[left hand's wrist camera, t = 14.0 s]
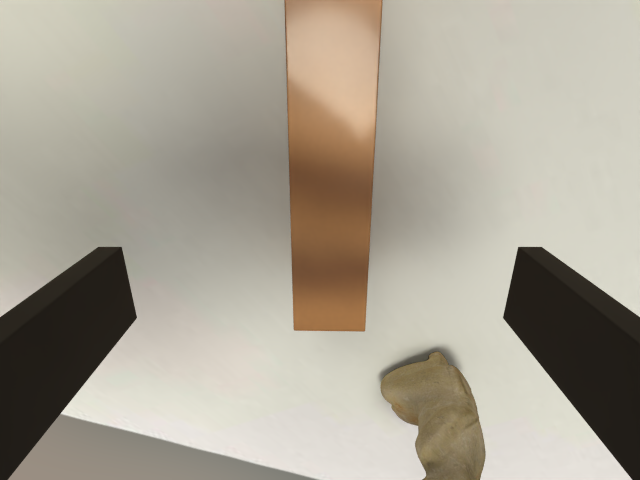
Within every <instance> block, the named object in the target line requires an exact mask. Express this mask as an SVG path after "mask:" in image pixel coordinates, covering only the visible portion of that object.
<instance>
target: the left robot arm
mask: <svg viewBox="0 0 640 480" xmlns="http://www.w3.org/2000/svg"><path fill="white" fill-rule="evenodd" d="M136 318H137V316H136V312H135V307H134V302H133V298H132V293H131V288H130V284H129V279H128V274H127V270H126V265H125V260H124V256H123V251H122V247H98V248H96V249H95V250H94V251H92V252H91V253H89V254H88V255H87V256H85V257H84V258H82V259H81V260H80V261H78V262H77V263H75V264H74V265H73V266H71V267H70V268H68V269H67V270H66V271H64V272H63V273H61V274H60V275H59V276H57V277H56V278H54V279H53V280H52V281H50V282H49V283H47V284H46V285H45V286H43V287H42V288H40V289H39V290H38V291H36V292H35V293H33V294H32V295H31V296H29V297H28V298H27V299H25V300H24V301H22V302H21V303H20V304H18V305H17V306H15V307H14V308H13V309H11V310H10V311H8V312H7V313H6V314H4V315H3V316H1V317H0V480H8V479H9V477H10V476H11V475H12V473H13V472H14V471H15V470H16V468H17V467H18V466H19V465H20V463H21V462H22V461H23V460H24V458H25V457H26V456H27V455H28V453H29V452H30V451H31V450H32V448H33V447H34V446H35V445H36V443H37V442H38V441H39V440H40V438H41V437H42V436H43V435H44V433H45V432H46V431H47V430H48V428H49V427H50V426H51V425H52V423H53V422H54V421H55V420H56V418H57V417H58V416H59V415H60V413H61V412H62V411H63V410H64V408H65V407H66V406H67V405H68V403H69V402H70V401H71V400H72V398H73V397H74V396H75V395H76V393H77V392H78V391H79V390H80V388H81V387H82V386H83V385H84V383H85V382H86V381H87V380H88V378H89V377H90V376H91V375H92V373H93V372H94V371H95V370H96V368H97V367H98V366H99V365H100V363H101V362H102V361H103V360H104V358H105V357H106V356H107V355H108V353H109V352H110V351H111V350H112V348H113V347H114V346H115V345H116V343H117V342H118V341H119V340H120V338H121V337H122V336H123V335H124V333H125V332H126V331H127V330H128V328H129V327H130V326H131V325H132V323H133V322H134V321H135V320H136ZM503 318H504V320H505V321H506V322H507V323H508V325H509V326H510V327H511V328H512V330H513V331H514V332H515V333H516V335H517V336H518V337H519V338H520V340H521V341H522V342H523V343H524V345H525V346H526V347H527V348H528V350H529V351H530V352H531V353H532V355H533V356H534V357H535V358H536V360H537V361H538V362H539V363H540V365H541V366H542V367H543V368H544V370H545V371H546V372H547V373H548V375H549V376H550V377H551V378H552V380H553V381H554V382H555V383H556V385H557V386H558V387H559V388H560V390H561V391H562V392H563V393H564V395H565V396H566V397H567V398H568V400H569V401H570V402H571V403H572V405H573V406H574V407H575V408H576V410H577V411H578V412H579V413H580V415H581V416H582V417H583V418H584V420H585V421H586V422H587V423H588V425H589V426H590V427H591V428H592V430H593V431H594V432H595V433H596V435H597V436H598V437H599V438H600V440H601V441H602V442H603V443H604V445H605V446H606V447H607V448H608V450H609V451H610V452H611V453H612V455H613V456H614V457H615V458H616V460H617V461H618V462H619V463H620V465H621V466H622V467H623V468H624V470H625V471H626V472H627V473H628V475H629V476H630V477H631V479H632V480H640V317H639V316H637V315H636V314H634V313H633V312H632V311H630V310H629V309H627V308H626V307H625V306H623V305H622V304H620V303H619V302H618V301H616V300H615V299H613V298H612V297H611V296H609V295H608V294H607V293H605V292H604V291H602V290H601V289H600V288H598V287H597V286H595V285H594V284H593V283H591V282H590V281H588V280H587V279H586V278H584V277H583V276H581V275H580V274H579V273H577V272H576V271H574V270H573V269H572V268H570V267H569V266H567V265H566V264H565V263H563V262H562V261H560V260H559V259H558V258H556V257H555V256H553V255H552V254H551V253H549V252H548V251H546V250H545V249H544V248H542V247H518V251H517V256H516V260H515V265H514V270H513V274H512V279H511V284H510V288H509V293H508V298H507V302H506V307H505V312H504V316H503Z"/></svg>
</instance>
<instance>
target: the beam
mask: <svg viewBox="0 0 640 480" xmlns="http://www.w3.org/2000/svg"><path fill="white" fill-rule="evenodd" d="M381 19H382V0H285V32H286V68H287V104H288V140H289V176H290V212H291V248H292V283H293V319H294V330H298V331H365V322H366V303H367V284H368V265H369V246H370V227H371V208H372V189H373V170H374V151H375V132H376V113H377V94H378V75H379V56H380V38H381Z"/></svg>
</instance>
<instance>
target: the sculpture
mask: <svg viewBox="0 0 640 480" xmlns="http://www.w3.org/2000/svg"><path fill="white" fill-rule="evenodd" d="M381 393H382V395H383V397H384V398H385V400H386V401H388V402H389V403H391V404H392V409H393V410H394V412H395V413H396V414H397V416H398V417H399V418H401V419H402V420H403V421H405V422H407V423H410V424H413V425H417V426H418V428H419V434H418V437H417V439H416V442H415V447H416V451H417V455H418V457H419V459H420V461H421V463H422V465H423V467H424V469H425V471H426V477H425V478H424V479H423V480H480V477H481V473H482V470H483V466H484V462H485V445H484V439H483V433H482V429H481V425H480V422H479V416H478V412H477V406H476V403H475V400H474V397H473V395H472V392H471V388H470V386H469V384H468V383H467V381H466V379H465V378H464V376H463V375H462V373H461V372H460V371H459V370H458V369H457V368H456V367H454V366H452V365H449V364H448V362H447V360H446V359H445V357H444V356H443V355H442V354H441V353H440V352H433V353H431V354H430V355H429V359H428V360H427V361H423V362H417V363H413V364H409V365H406V366H403V367H400V368H398V369H395V370H393V371H392V372H390V373H389V374H387V375H386V376H385V377H384V378H383V380H382V382H381Z"/></svg>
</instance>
